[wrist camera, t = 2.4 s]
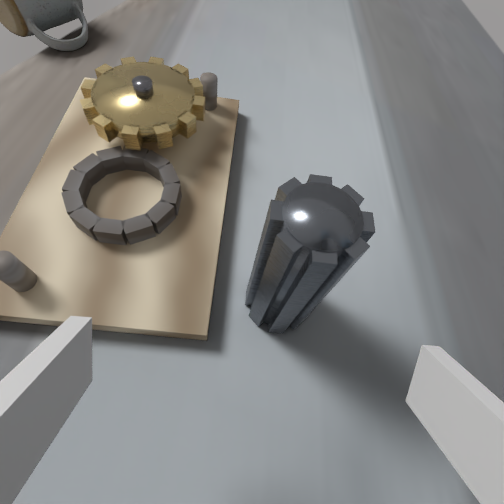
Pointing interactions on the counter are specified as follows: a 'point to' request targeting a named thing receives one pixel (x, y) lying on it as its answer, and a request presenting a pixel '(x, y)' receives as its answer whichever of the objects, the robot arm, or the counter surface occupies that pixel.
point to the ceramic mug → (44, 20)
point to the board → (121, 228)
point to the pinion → (305, 250)
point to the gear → (143, 102)
